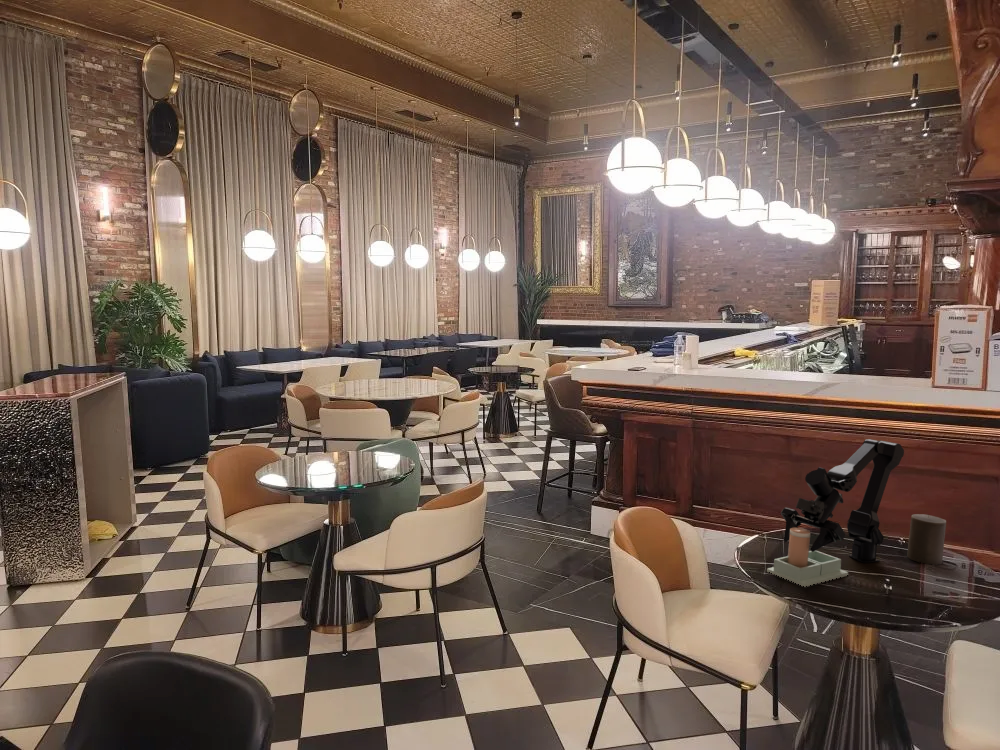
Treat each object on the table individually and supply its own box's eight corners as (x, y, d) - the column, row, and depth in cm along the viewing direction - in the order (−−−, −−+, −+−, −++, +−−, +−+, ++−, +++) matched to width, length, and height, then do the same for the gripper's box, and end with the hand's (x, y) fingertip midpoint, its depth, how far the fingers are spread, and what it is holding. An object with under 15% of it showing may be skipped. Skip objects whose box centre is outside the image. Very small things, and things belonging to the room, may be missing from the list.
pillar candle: (915, 563, 219) (920, 517, 217) (901, 553, 228) (906, 508, 227) (948, 566, 217) (953, 520, 216) (933, 555, 227) (937, 511, 226)
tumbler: (807, 571, 207) (810, 529, 206) (806, 577, 202) (810, 534, 200) (787, 568, 209) (790, 526, 208) (786, 574, 204) (789, 531, 203)
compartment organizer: (809, 561, 218) (810, 547, 218) (848, 575, 207) (849, 560, 207) (767, 571, 209) (767, 557, 208) (804, 587, 197) (805, 571, 197)
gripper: (786, 481, 214) (759, 521, 209) (841, 496, 197) (814, 539, 193) (801, 503, 218) (775, 542, 214) (856, 519, 202) (830, 562, 198)
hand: (797, 546), depth 204 cm, fingers open, 9 cm apart
